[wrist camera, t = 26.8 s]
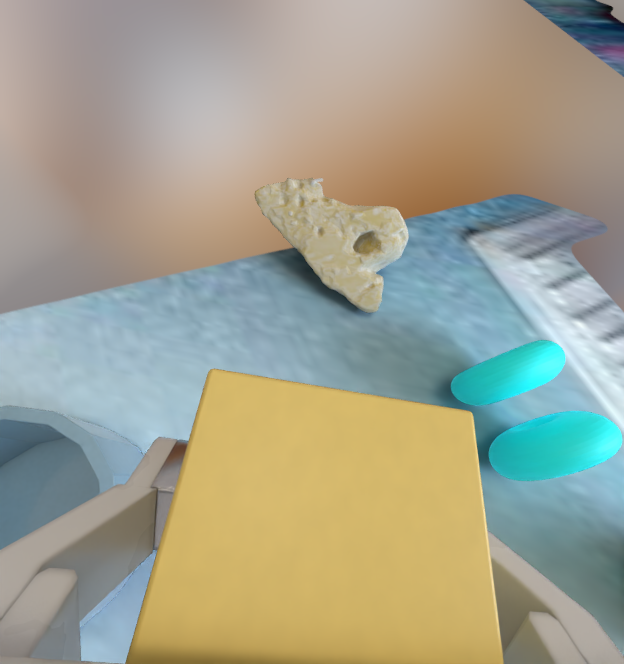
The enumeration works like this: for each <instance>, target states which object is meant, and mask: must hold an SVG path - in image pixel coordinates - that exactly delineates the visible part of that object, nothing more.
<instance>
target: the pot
mask: <svg viewBox="0 0 624 664" xmlns="http://www.w3.org/2000/svg"><path fill="white" fill-rule="evenodd" d="M143 457H144V456H143V454H142V453H141V452H140V450H139V449H138V447H137V446H135V445H134V444H132V443H131V442H130V441H128V440H127V439H125V438H124V437H122V436H120V435H118V434H117V433H115V432H113V431H112V430H109V429H106V428H103V427H100V426H97V425H94V424H91V423H88V422H85V421H82V420H79V419H76V418H73V417H70V416H67V415H64V414H61V413H58V412H54V411H47V410H40V409H32V408H25V407H18V406H3V407H0V550H1V549H3V548H4V547H6V546H8V545H10V544H12V543H13V542H15V541H17V540H19V539H20V538H22V537H24V536H26V535H28V534H29V533H31V532H33V531H35V530H37V529H38V528H40V527H42V526H44V525H46V524H47V523H49V522H51V521H53V520H54V519H56V518H58V517H60V516H62V515H63V514H65V513H67V512H69V511H71V510H72V509H74V508H76V507H78V506H80V505H81V504H83V503H85V502H87V501H88V500H90V499H92V498H94V497H96V496H97V495H99V494H101V493H103V492H105V491H106V490H108V489H110V488H112V487H113V486H115V485H117V484H123V485H125V483H126V482H127V480H128V479H129V477H130V476H131V475H132V473H133V472H134V470H135V469H136V467H137V466H138V464H139V463H140V461H141V460H142V458H143ZM134 571H135V570H134ZM134 571H132V572H131V573H130V574H129V575H128V576H127V577H126V578H125V579H124V580H123V581H122V582H121V583H120V584H119V585H118V586H117V587H116V588H115V589H114V590H113V591H111V592H110V593H109V594H108V595H107V596H106V597H105V598H104V599H103V600H102V601H101V602H100V603H99V604H98V605H97V606H96V607H95V608H94V609H93V610H92V611H90V612H89V613H88V614H87V615H86V616H85V617H84V618H83V619H82V620H81V621H80V628H81V627H82V626H83V625H85V624H86V623H87V622H88V621H89V620H90V619H91V618H93V617H94V616H95V615H96V614H97V613H98V612H99V611H100V610H102V609H103V608H104V607H105V606H106V605H107V604H108V603H110V602H111V601H112V600H113V599H114V598H115V597H116V596H117V595H118V593H119V592H120V590H121V589H122V587H123V586H124V585H125V583H126V582H127V581H128V579H129V578H130V577H131V575H132V574H133V572H134Z"/></svg>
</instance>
